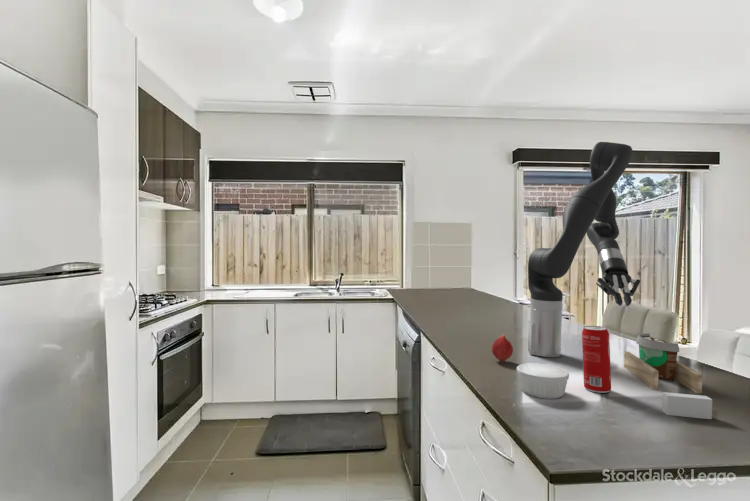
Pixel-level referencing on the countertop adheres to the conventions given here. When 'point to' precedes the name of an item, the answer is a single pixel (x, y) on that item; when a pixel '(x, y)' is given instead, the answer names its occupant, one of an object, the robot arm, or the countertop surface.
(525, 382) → the ramekin
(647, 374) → the chute
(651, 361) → the food container
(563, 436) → the countertop surface
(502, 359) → the onion
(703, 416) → the white rectangular block
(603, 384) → the beverage can
